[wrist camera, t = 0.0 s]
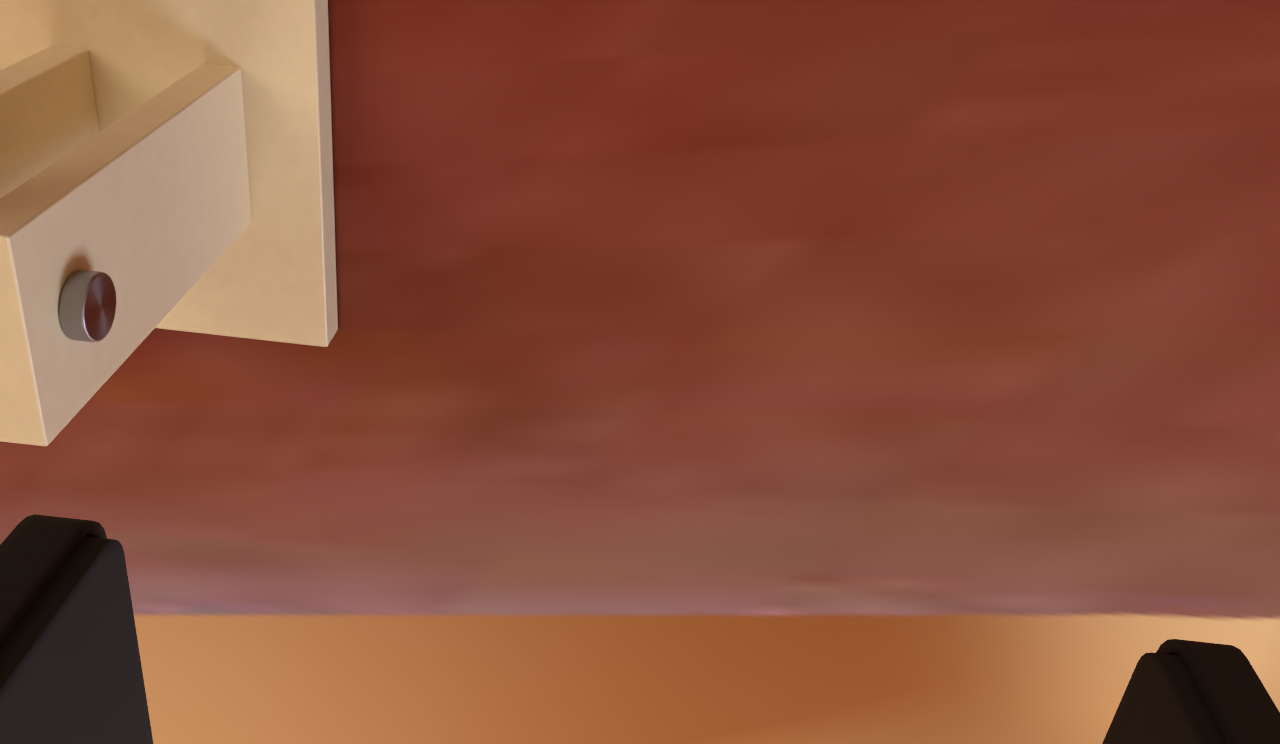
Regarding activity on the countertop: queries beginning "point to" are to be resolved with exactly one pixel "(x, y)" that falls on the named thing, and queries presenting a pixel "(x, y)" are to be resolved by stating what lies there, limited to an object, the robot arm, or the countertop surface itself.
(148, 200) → the bracket
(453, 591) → the countertop surface
